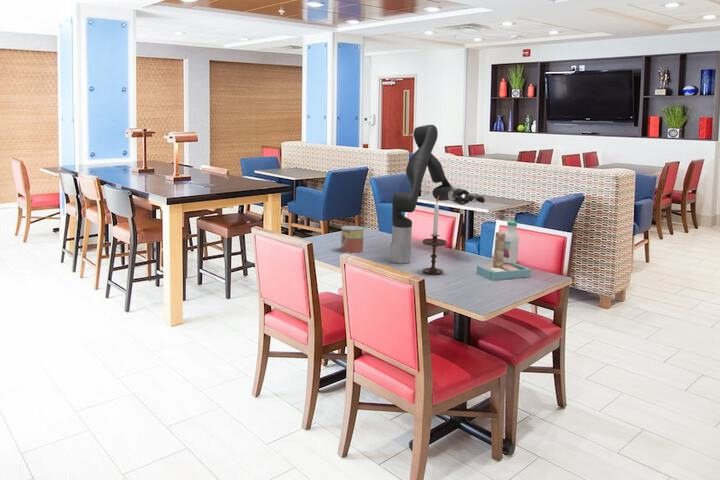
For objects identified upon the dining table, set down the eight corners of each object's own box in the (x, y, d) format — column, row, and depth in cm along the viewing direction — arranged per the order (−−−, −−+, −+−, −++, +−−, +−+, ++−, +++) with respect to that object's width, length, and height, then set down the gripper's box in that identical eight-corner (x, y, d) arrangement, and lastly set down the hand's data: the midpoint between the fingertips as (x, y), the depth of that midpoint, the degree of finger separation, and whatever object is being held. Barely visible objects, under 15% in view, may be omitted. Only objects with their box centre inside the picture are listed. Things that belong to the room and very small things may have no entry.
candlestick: (441, 269, 294) (445, 193, 287) (447, 275, 284) (452, 197, 277) (418, 269, 293) (422, 193, 285) (424, 275, 282) (428, 196, 275)
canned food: (337, 249, 327) (338, 226, 324) (357, 247, 332) (358, 225, 329) (346, 254, 317) (346, 230, 314) (366, 252, 322) (367, 229, 319)
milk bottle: (514, 260, 316) (518, 220, 312) (518, 264, 309) (522, 223, 305) (499, 259, 316) (502, 220, 312) (503, 263, 309) (506, 222, 304)
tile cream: (488, 275, 288) (488, 268, 287) (498, 274, 290) (498, 267, 290) (495, 278, 283) (495, 271, 283) (505, 277, 285) (506, 270, 285)
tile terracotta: (501, 273, 291) (502, 267, 290) (511, 273, 293) (512, 266, 292) (509, 276, 286) (509, 270, 285) (519, 276, 288) (519, 269, 287)
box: (476, 272, 290) (477, 265, 289) (513, 270, 297) (514, 262, 296) (491, 280, 278) (492, 272, 278) (530, 277, 286) (530, 269, 285)
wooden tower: (482, 272, 291) (485, 232, 287) (508, 270, 296) (511, 231, 292) (485, 274, 288) (489, 234, 284) (512, 272, 293) (515, 232, 289)
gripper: (446, 188, 313) (463, 193, 299) (471, 188, 319) (489, 192, 304) (445, 203, 315) (462, 209, 300) (470, 203, 320) (488, 208, 306)
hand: (476, 201), depth 302 cm, fingers open, 8 cm apart
